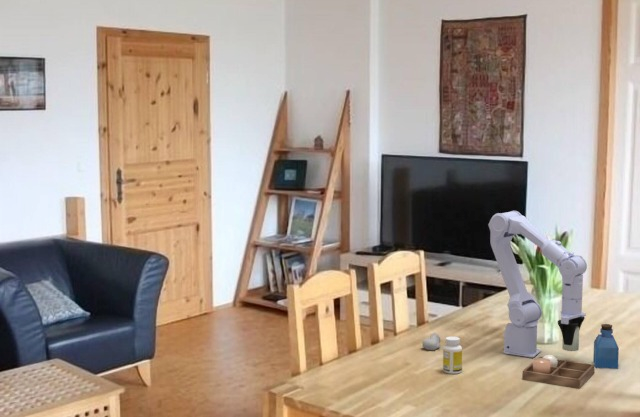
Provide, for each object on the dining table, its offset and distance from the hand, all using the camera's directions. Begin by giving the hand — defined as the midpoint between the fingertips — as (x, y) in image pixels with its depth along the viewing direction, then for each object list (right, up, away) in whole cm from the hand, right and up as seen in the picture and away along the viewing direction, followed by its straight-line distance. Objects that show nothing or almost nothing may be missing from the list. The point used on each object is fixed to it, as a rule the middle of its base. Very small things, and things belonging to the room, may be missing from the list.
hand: (570, 342), depth 253 cm
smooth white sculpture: (-38, -5, +18) cm, 42 cm away
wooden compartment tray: (-7, -8, -11) cm, 15 cm away
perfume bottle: (+10, -7, -1) cm, 12 cm away
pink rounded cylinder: (-12, -8, -12) cm, 19 cm away
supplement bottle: (-36, -8, -6) cm, 37 cm away
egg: (-8, -7, -6) cm, 12 cm away
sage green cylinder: (0, -2, 0) cm, 2 cm away
